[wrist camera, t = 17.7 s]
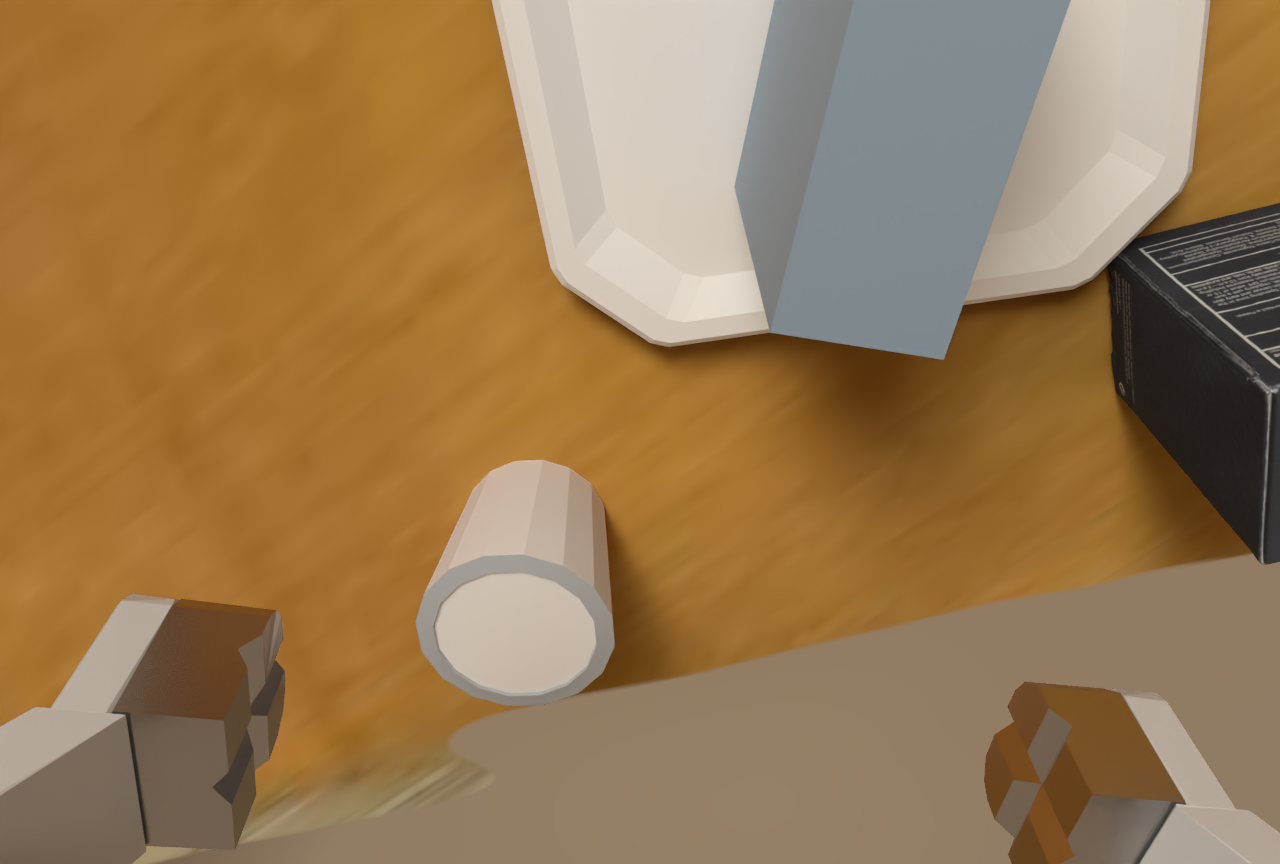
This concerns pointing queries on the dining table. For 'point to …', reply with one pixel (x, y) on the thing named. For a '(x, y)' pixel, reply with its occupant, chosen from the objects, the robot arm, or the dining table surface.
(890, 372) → the dining table surface
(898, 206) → the slate blue block
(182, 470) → the dining table surface
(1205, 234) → the small box
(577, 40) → the plate
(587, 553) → the white cup
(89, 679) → the robot arm
